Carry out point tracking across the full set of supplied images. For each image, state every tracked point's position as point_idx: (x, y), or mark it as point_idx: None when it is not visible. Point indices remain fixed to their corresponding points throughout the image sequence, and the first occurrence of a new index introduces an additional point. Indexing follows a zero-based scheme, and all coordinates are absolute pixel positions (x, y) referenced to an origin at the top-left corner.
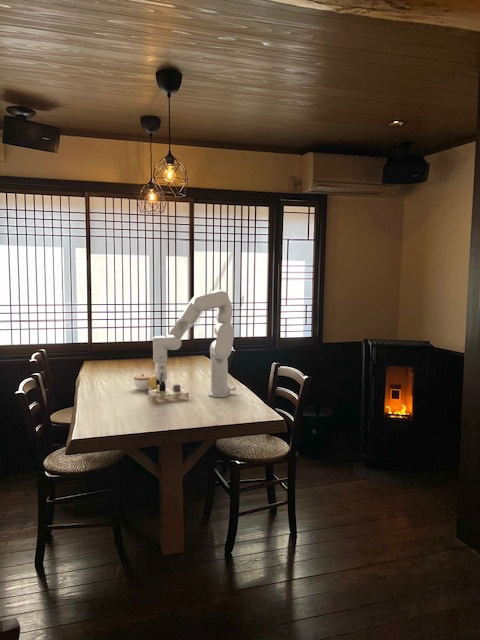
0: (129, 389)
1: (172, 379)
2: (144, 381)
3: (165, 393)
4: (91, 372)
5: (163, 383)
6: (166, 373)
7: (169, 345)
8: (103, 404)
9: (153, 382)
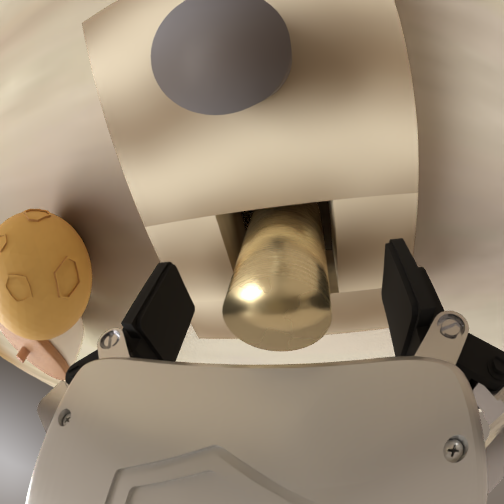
0: (88, 343)
1: None
2: (59, 339)
3: (368, 215)
4: (14, 361)
5: (466, 344)
6: (486, 499)
7: None
8: None
9: (72, 314)
